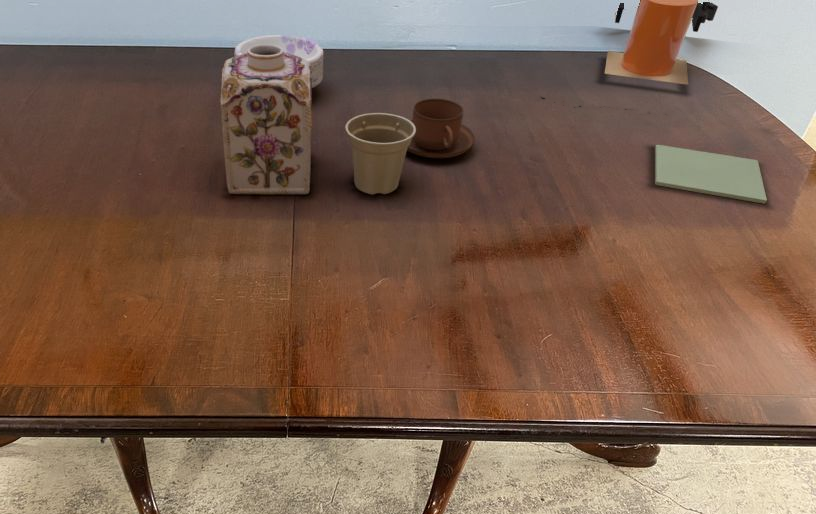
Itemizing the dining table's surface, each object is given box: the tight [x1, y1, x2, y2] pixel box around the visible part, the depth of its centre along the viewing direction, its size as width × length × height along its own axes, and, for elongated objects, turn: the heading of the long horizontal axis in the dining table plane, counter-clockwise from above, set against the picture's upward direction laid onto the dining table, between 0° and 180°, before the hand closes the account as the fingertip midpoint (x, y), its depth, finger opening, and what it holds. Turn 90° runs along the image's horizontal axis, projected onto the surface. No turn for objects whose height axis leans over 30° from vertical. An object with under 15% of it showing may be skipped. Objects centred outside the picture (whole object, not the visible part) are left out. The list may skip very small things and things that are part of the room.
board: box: [604, 50, 689, 85], centre depth 124 cm, size 14×12×2 cm
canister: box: [621, 0, 698, 76], centre depth 119 cm, size 9×9×12 cm
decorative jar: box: [218, 44, 314, 195], centre depth 91 cm, size 12×12×18 cm
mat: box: [654, 144, 768, 205], centre depth 97 cm, size 14×12×1 cm
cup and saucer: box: [406, 98, 476, 159], centre depth 101 cm, size 12×12×6 cm
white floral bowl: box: [233, 34, 325, 89], centre depth 116 cm, size 15×15×8 cm
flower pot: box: [344, 112, 416, 195], centre depth 92 cm, size 9×9×9 cm
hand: (658, 19), depth 124 cm, fingers open, 13 cm apart
